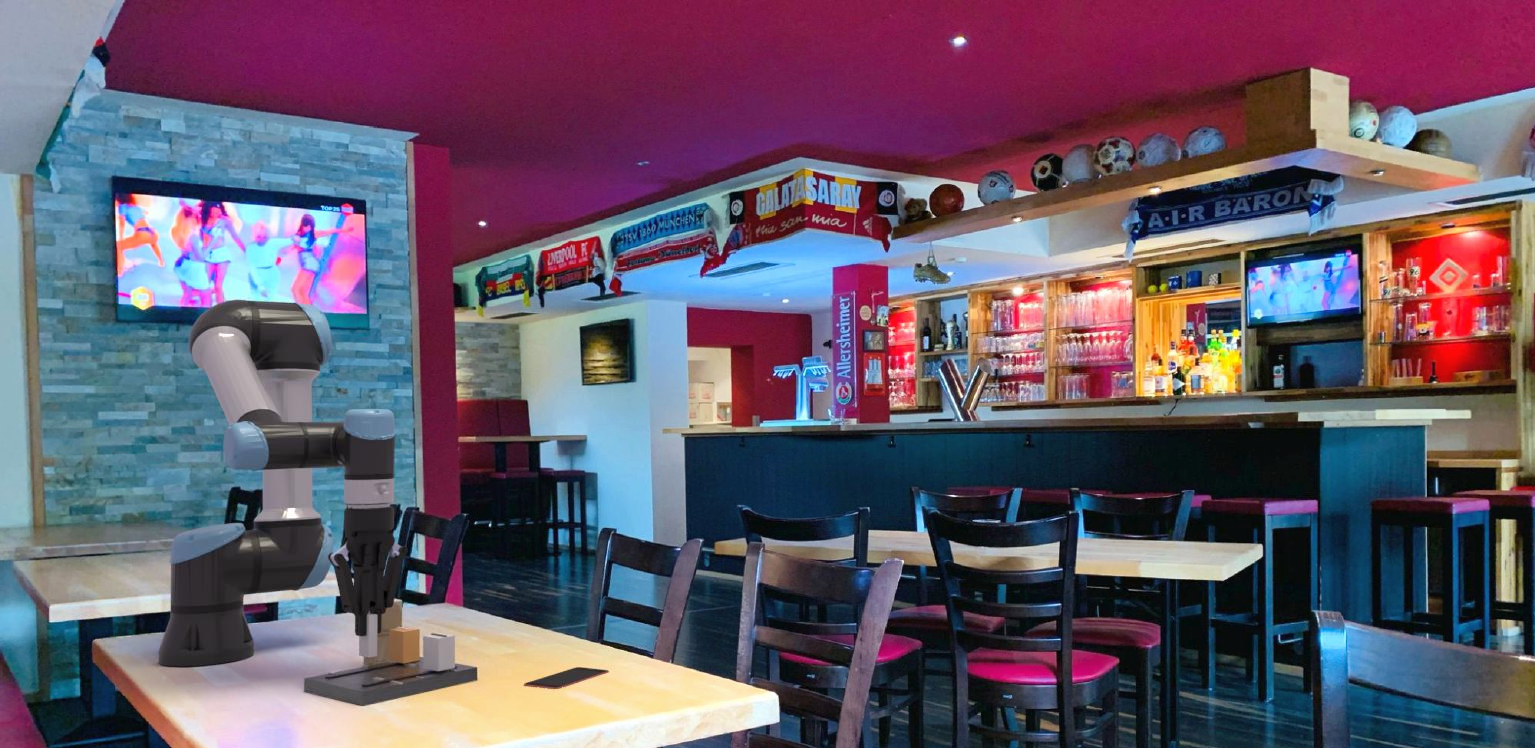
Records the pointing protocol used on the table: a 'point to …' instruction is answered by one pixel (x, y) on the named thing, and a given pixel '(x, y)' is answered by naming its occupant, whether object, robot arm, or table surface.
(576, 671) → the smartphone
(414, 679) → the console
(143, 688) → the table surface
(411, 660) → the fader orange
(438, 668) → the fader grey
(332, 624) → the table surface
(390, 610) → the box
